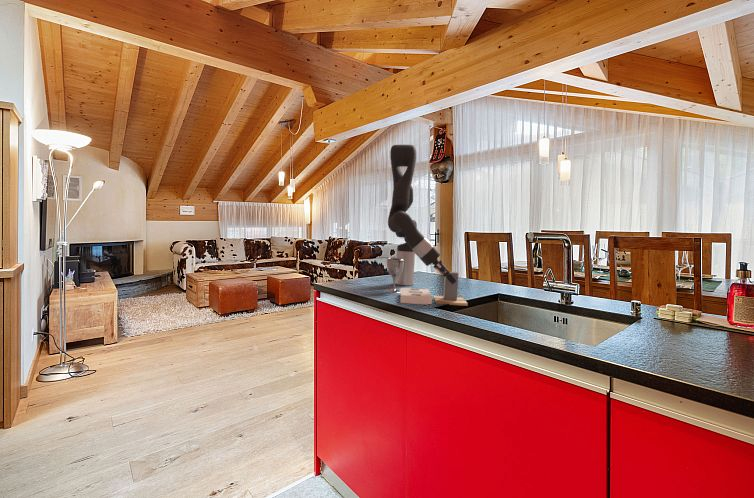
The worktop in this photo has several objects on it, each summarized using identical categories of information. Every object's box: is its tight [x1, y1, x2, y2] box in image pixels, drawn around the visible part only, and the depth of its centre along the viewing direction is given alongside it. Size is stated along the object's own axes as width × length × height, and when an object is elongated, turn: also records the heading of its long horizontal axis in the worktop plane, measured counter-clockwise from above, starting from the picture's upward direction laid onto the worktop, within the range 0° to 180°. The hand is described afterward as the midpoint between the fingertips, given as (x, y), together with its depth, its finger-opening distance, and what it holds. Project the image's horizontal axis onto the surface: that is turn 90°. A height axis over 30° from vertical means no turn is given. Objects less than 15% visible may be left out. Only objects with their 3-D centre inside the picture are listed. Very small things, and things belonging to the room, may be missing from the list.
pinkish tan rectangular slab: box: [400, 287, 433, 306], centre depth 153 cm, size 18×12×3 cm, turn 176°
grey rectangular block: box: [442, 271, 459, 301], centre depth 150 cm, size 4×5×11 cm
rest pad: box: [433, 295, 469, 307], centre depth 151 cm, size 13×12×1 cm
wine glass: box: [386, 257, 404, 294], centre depth 169 cm, size 8×8×15 cm
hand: (453, 281), depth 150 cm, fingers open, 8 cm apart
